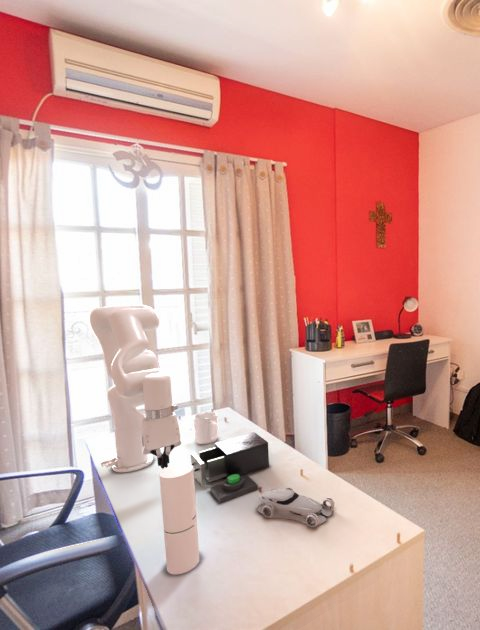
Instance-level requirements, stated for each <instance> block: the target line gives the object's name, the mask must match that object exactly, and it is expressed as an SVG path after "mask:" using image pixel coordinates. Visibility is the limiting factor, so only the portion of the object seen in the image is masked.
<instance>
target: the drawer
mask: <svg viewBox="0 0 480 630" xmlns="http://www.w3.org/2000/svg"><path fill="white" fill-rule="evenodd" d="M198 454H199V455H198ZM198 454H197V453H196V452H195V451H193V452H190V464H191V465H192V466H193V473H194V479H195V480H196V481H197V482H198V483H199V484H200V486H201V487H205V486H206V485H207V483H206V482H207V481H208V482H209V483H211V482H214V481H217V480H220V479H223V478H225V477H226V476H227V462H226V455H225V454H223V453H222V452H221V451H220V450H219V449H218V448H217V447H215V446H214V447H212V448H208V449H205V450H201V451H199V452H198ZM206 480H207V481H206Z"/></svg>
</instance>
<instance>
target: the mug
mask: <svg viewBox="0 0 480 630" xmlns="http://www.w3.org/2000/svg"><path fill="white" fill-rule="evenodd" d="M193 428H194V441H195V442H196V444H199V445H208V444H212V443H214V442H216V441H217V440H218V438H219V436H220V435H219V420H218V413H217V412H215V411H204V412H200V413H197V414H195V415H194V416H193Z"/></svg>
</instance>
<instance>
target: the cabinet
mask: <svg viewBox="0 0 480 630" xmlns="http://www.w3.org/2000/svg"><path fill="white" fill-rule="evenodd" d="M215 447H217V448H218V449H219V450H220V451H221V452H222V453H223V454H225V455H226V462H227V476H226V477H224V478H225V479H227V478H228V477H229V476H230V475H234V474H238V475H239V476H244V475H249V474H252V473H255V472H258V471H261V470H264V469H267V468H269V467H270V457H269V456H270V455H269V453H270V452H269V442H268V441H267V440H265V438H263V437H262V436H260V435H259V434H257V432H254V431H253V432H250V433H246V434H243V435H239V436H235V437H232V438H227V439H225V440H222V441H221V440H220V441H218V442H215V443H214V448H215Z"/></svg>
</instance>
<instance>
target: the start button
mask: <svg viewBox="0 0 480 630" xmlns="http://www.w3.org/2000/svg"><path fill="white" fill-rule="evenodd" d="M239 481H240V476H239V475H238V474H234V475H230V476H229V477H228V484H235V483H238V482H239Z"/></svg>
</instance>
